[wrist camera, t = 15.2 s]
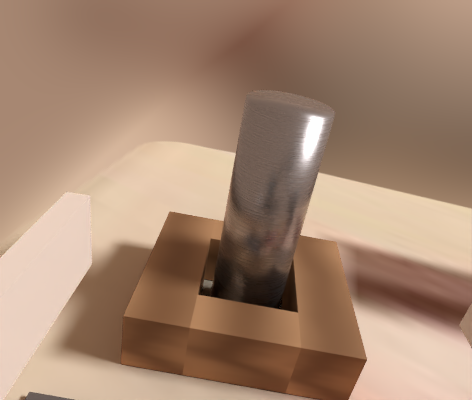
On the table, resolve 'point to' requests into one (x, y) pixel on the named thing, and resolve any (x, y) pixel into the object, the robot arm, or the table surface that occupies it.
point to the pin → (269, 194)
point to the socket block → (244, 319)
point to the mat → (43, 397)
